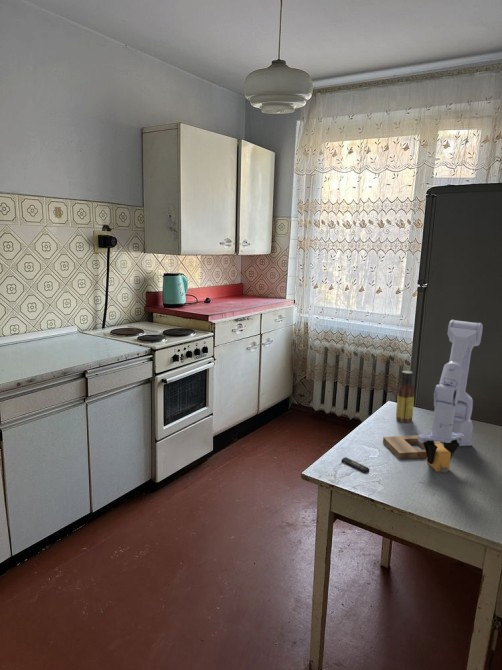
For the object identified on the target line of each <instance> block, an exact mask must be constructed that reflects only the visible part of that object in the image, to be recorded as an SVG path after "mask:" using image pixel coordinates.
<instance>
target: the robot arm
mask: <svg viewBox="0 0 502 670" xmlns="http://www.w3.org/2000/svg"><path fill="white" fill-rule="evenodd" d="M483 327H484V326H483V324H482V322H471V321H463V320H455V319H451V320H450V321H449V323H448V326H447V336H448V341H449V342H450V343H451V348H450V349H451V350H450V355H449V360H448V362H447V363H445V364H444V366H443V369H442V372H441V376H440V378H439V379H440V380H439V382H438V384H436V385H435V387H434V388H435V389H434V393H433V408H434V412H433V418H432V419H433V420H432V428H431V431H429V432H426V433H423V434H418V441H419V442H420V443H423V444H424V447H425V450H426V454H427V457H426V462H427V461H428V462H429V463H430V464H433V461H434V455H435V452H436V449H437V446H436V445H435V443H434V442H435V441H439V442H441V443H442V444H443V445H444V448H446V449H447V450H448V451H449V452H451V457H450V460H451V459H452V456H453V455H454V453H455V451H457V450H458V448H459V447H467V446H468V447H469V446H471V447H472V446H473V443H472V437H473V431H474V425H473V421H472V419H471V417H472V413H473V405H474V400H473V397H472V396H471V395H470V394H469V393H467V392H466V389H467V382H468V378H469V377H468V375H469V369H470V362H471V357H472V350H473V349H474V347H478V346H480V344H481V342H482V341H481V340H482V335H483V329H484V328H483Z"/></svg>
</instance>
